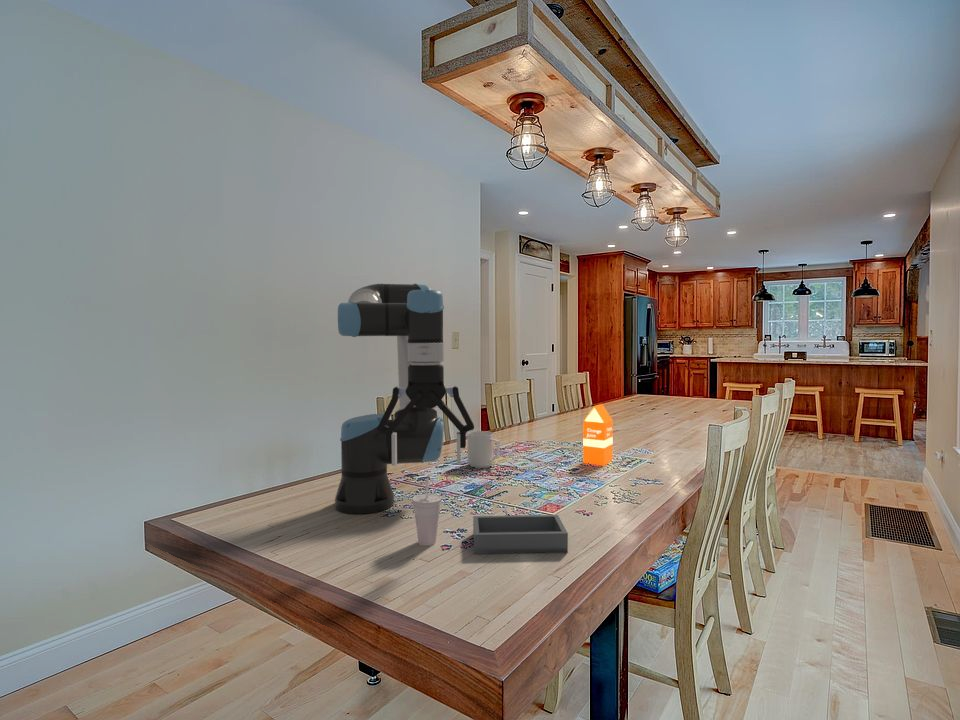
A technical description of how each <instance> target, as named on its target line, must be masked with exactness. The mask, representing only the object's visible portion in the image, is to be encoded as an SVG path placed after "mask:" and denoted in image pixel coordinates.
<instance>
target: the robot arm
mask: <svg viewBox="0 0 960 720" xmlns="http://www.w3.org/2000/svg"><path fill="white" fill-rule="evenodd" d="M443 299H444V295H443V293H442V292H441V291H440V290H437V289H436V290H435V289H432V288H431V287H430V286H429V285H426V284H418V283H413V284H406V283H405V284H403V283H374V284H369V285H366V286H363V287H360V288H357V289H356V290H355V291H354V292H352V293H351V294H350V296H349V298H348V301H347V302H340V303H339V304H338V305H337V331H338V334H339V335H340V336H343V337H352V338H356V337H396V341H397V342H396V343H397V344H396V345H397V346H396V347H397V367H398V368H397V369H398V370H397V372H398V373H397V374H398V385H397V386H394V387H393V388H392V394H391V400H390V402H389V403H388V404H387V407H386V409H385V411H384V413H373V414H365V415H360V416H359V415H358V416H355V417H351V418H349V419H347V420H344V422H343V423H342V425H341V430H340V431H341V433H340V439H339V440H340V444H341V447H340V448H341V452H340V453H341V456H340V457H341V458H340V459H341V460H340V461H341V479H340V481H339V484H338V488H337V492H336V494H335V497H334V498H335V499H334V506H335V507H334V508H335V509H336V510H337V511H339V512H341V513H344V514H353V515H354V514H355V515H356V514H357V515H362V514H363V515H364V514H371V513H373V514H374V513H377V512H378V513H379V512H381V511H385V510H387V509H389V508H391V507H393V505H395V494H394V490H393V487H392V484H391V482H390V480H389V479H390V478H389V477H388V465H391V466H393V467H394V466H396V465H397V464H417V463H421V464H424V463H431V462H436V461H437V460H439V459H440V457H441V454H442V449H443V441H444V428H445V427H444V426H445V424H444V418H443V417H440V416H438V411H437V409H436V407H437V408H438V409H439V410H440V411H442V413H443V414H444V415H445V416H446V418H447V419H448V420H449V421H450V422H451V423H452V425H453V426H454V427H456V429H457V430H458V431H456V465H461V449H466V446H467V434H468V433H469V432H471V431H473V430H474V429H475V425H474V422H473V420H472V418H471V417H470V414H469V412H468V410H467V409H466V406H465V405H464V403H463V401H462V398H461V396H460V392H459V386H457V385H454V386H451V387H446V386H445V385H444V384H445V383H444V382H445V381H444V377H445V374H444V373H445V372H444V371H445V370H444V366H443V364H441V363H442V362H444V361H445V360H444V358H445V357H444V356H445V355H444V354H445V353H444V350H445V349H444V309H445V306H444V300H443ZM446 394H448V395H449V397H450V398H453V400H454V402H455V404H456V406H457V409H458V411H459V412H460V414H461V416H462V418H463V420H464V422H465V425H464V424H463V423H462V421H461V420H460V419H459V417H457V416H456V415H455V414H454V412H453V411H452V410H451V409H450V408H449V407H448V405H447V403H445V401H444V400H443V398H444V397H445V395H446ZM398 401H399V402H398ZM397 403H399V408H397V410H396V411H395V412H394V409H395V407H396V405H397ZM393 412H394V414H393V418H392V419H390V417H391V415H392V413H393Z"/></svg>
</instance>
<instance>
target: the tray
mask: <svg viewBox="0 0 960 720" xmlns="http://www.w3.org/2000/svg"><path fill="white" fill-rule="evenodd" d="M472 517H473V521H472V523H473V528H472V531H473V549H474V551H473V552H474V555H496V554H498V555H499V554H501V555H502V554H505V555H507V554H509V555H510V554H511V555H512V554H553V553H554V554H557V553H558V554H559V553H563V554H564V553H565V552H566V554H567V553H568V549H569V548H568V546H569V545H568V543H569V542H568V541H569V535H568V533H569V532H568V531H567V529H566V528H565V526H564V524H563V522H562V520H561V518H560V516H559V515H558V514H539V515H538V514H536V515H535V514H534V515H531V514H530V515H528V514H527V515H525V514H524V515H522V514H521V515H473V516H472Z"/></svg>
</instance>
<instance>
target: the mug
mask: <svg viewBox="0 0 960 720" xmlns="http://www.w3.org/2000/svg"><path fill="white" fill-rule="evenodd" d="M494 442H495V443H496V445H495V446H496V449H495V448H494V444H495V443H494ZM500 443H501V440H499V439H497V438H494V432H492V431H488V430H487V431H486V430H476V431H468V432H467V433H466V446H467V465H468V466H469V467H470V466H471V467H470V468H472V467H475V468H474V469H478V468H483V469H486V468H485V467H489V468H491V467H492V466H493V465H494V463H495V460H497V459H498V458H499V456H500V447H501V445H500ZM494 449H495V453H494ZM494 454H495V457H494ZM490 466H491V467H490Z"/></svg>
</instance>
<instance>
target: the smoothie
mask: <svg viewBox="0 0 960 720" xmlns="http://www.w3.org/2000/svg"><path fill="white" fill-rule="evenodd" d="M442 500H443V499H442V496H441V495H440V494H435V493H429V478H428V477H427V478H425V493H423V494H422V493H421V494H417V495H414V496H413V497H412V498H411V504H412V506H413V511H414V519H415V526H416V533H417V541H418V544H419V545H420V546H422V547H431V546H434V545H435V544H436V543H437V537H438V536H437V535H438V526H439V518H440V517H439V516H440V511H441V504H442V503H443V502H442Z"/></svg>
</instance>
